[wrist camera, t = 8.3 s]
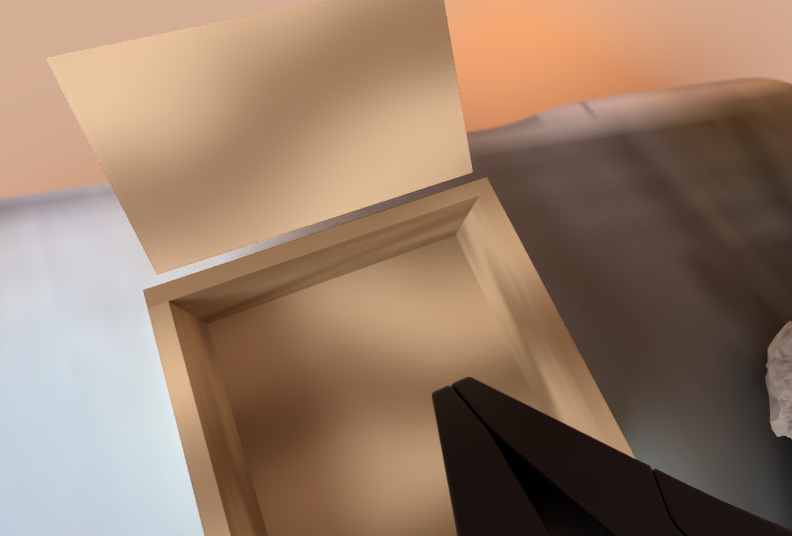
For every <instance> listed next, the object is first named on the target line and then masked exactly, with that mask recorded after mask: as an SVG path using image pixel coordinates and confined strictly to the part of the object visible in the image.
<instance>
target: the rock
mask: <svg viewBox="0 0 792 536" xmlns="http://www.w3.org/2000/svg"><path fill="white" fill-rule="evenodd" d="M767 350H768V361H767V364H766V368H767V369H768V371H767V374H766V377H765V380H766V385H767V390H768V394H769V402H770V423H771V427H772V430H773V431H774V433H775V434H776V435H777V437H780V436H787V437H790V438H791V439H792V322H791V321H789V322H788V323H786V325H785V326H784V327H783V328H782V329H781V330H780V332H779V333H778V334H777V335H776V337H775V338H774V339H773V341H772V342H771V343H770V345H769V347H768V349H767Z"/></svg>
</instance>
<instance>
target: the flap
mask: <svg viewBox="0 0 792 536" xmlns="http://www.w3.org/2000/svg"><path fill="white" fill-rule="evenodd" d="M46 60H47V62H48V64H49V65H50V68H51V70H52V72H53V73H54V75H55V77H56V79H57V81H58V83H59V85H60V87H61V89H62V91H63V93H64V95H65V97H66V99H67V101H68V103H69V105H70V106H71V108H72V110H73V112H74V114H75V116H76V118H77V120H78V122H79V124H80V126H81V128H82V130H83V132H84V134H85V136H86V138H87V140H88V141H89V143H90V145H91V147H92V149H93V151H94V153H95V155H96V157H97V159H98V161H99V163H100V165H101V167H102V169H103V171H104V172H105V174H106V176H107V178H108V180H109V182H110V184H111V186H112V188H113V190H114V192H115V194H116V196H117V198H118V200H119V202H120V204H121V206H122V208H123V210H124V211H125V213H126V215H127V217H128V219H129V221H130V223H131V225H132V227H133V229H134V231H135V233H136V235H137V237H138V239H139V241H140V243H141V244H142V246H143V248H144V250H145V252H146V254H147V256H148V258H149V260H150V262H151V264H152V266H153V268H154V270H155V272H156V274H157V275H158V274H161V273H164V272H167V271H170V270H173V269H176V268H179V267H183V266H186V265H189V264H192V263H195V262H198V261H201V260H204V259H207V258H210V257H213V256H216V255H220V254H223V253H226V252H229V251H232V250H235V249H238V248H241V247H244V246H247V245H250V244H253V243H256V242H260V241H263V240H266V239H269V238H272V237H275V236H278V235H281V234H284V233H287V232H290V231H293V230H297V229H300V228H303V227H306V226H309V225H312V224H315V223H318V222H321V221H324V220H327V219H330V218H334V217H337V216H340V215H343V214H346V213H349V212H352V211H355V210H358V209H361V208H364V207H367V206H371V205H374V204H377V203H380V202H383V201H386V200H389V199H392V198H395V197H398V196H401V195H404V194H408V193H411V192H414V191H417V190H420V189H423V188H426V187H429V186H432V185H435V184H438V183H441V182H445V181H448V180H451V179H454V178H457V177H460V176H463V175H466V174H469V173H472V172H473V171H472V165H471V159H470V153H469V147H468V141H467V135H466V129H465V123H464V118H463V111H462V106H461V99H460V93H459V88H458V82H457V76H456V70H455V64H454V58H453V52H452V47H451V41H450V35H449V28H448V23H447V16H446V10H445V4H444V0H324V1H319V2H314V3H309V4H305V5H299V6H294V7H290V8H285V9H280V10H275V11H270V12H265V13H260V14H256V15H251V16H246V17H241V18H236V19H231V20H226V21H222V22H217V23H212V24H207V25H202V26H197V27H193V28H188V29H183V30H178V31H173V32H168V33H163V34H159V35H154V36H149V37H144V38H139V39H134V40H130V41H125V42H120V43H115V44H110V45H105V46H101V47H95V48H91V49H86V50H81V51H76V52H71V53H66V54H62V55H57V56H52V57H47V58H46Z"/></svg>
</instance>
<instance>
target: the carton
mask: <svg viewBox="0 0 792 536" xmlns="http://www.w3.org/2000/svg"><path fill="white" fill-rule="evenodd" d="M143 292H144V296H145V300H146V303H147V307H148V311H149V315H150V319H151V323H152V327H153V331H154V335H155V339H156V343H157V347H158V351H159V355H160V359H161V363H162V367H163V371H164V375H165V379H166V383H167V387H168V391H169V395H170V399H171V403H172V407H173V411H174V415H175V419H176V423H177V427H178V431H179V435H180V439H181V443H182V447H183V451H184V455H185V459H186V463H187V467H188V471H189V475H190V479H191V483H192V487H193V491H194V495H195V499H196V503H197V507H198V511H199V515H200V519H201V523H202V527H203V531H204V535H205V536H457V532H456V526H455V521H454V516H453V510H452V505H451V499H450V494H449V488H448V483H447V477H446V472H445V466H444V461H443V455H442V450H441V445H440V439H439V434H438V428H437V423H436V417H435V412H434V406H433V401H432V392H434V391H436V390H438V389H440V388H442V387H445V386H447V385H449V386H451V385H452V383H454V382H456V381H458V380H460V379H463V378H465V377H472V378H474V379H476V380H478V381H480V382H482V383H484V384H486V385H488V386H490V387H492V388H494V389H496V390H498V391H500V392H502V393H504V394H506V395H508V396H510V397H512V398H514V399H516V400H518V401H520V402H522V403H524V404H526V405H528V406H530V407H532V408H534V409H536V410H538V411H540V412H542V413H544V414H547V415H549V416H551V417H553V418H555V419H557V420H559V421H561V422H563V423H565V424H567V425H569V426H571V427H573V428H575V429H577V430H579V431H581V432H583V433H585V434H587V435H589V436H591V437H593V438H595V439H597V440H599V441H601V442H603V443H605V444H607V445H609V446H611V447H613V448H615V449H617V450H619V451H621V452H623V453H625V454H627V455H629V456H631V457H633V458H635V457H634V455H633V453H632V451H631V449H630V447H629V445H628V443H627V441H626V439H625V438H624V436H623V434H622V432H621V430H620V428H619V426H618V424H617V422H616V421H615V419H614V417H613V415H612V413H611V411H610V409H609V407H608V405H607V404H606V402H605V400H604V398H603V396H602V394H601V392H600V390H599V388H598V387H597V385H596V383H595V381H594V379H593V377H592V375H591V373H590V371H589V370H588V368H587V366H586V364H585V362H584V360H583V358H582V356H581V354H580V353H579V351H578V349H577V347H576V345H575V343H574V341H573V339H572V337H571V335H570V334H569V332H568V330H567V328H566V326H565V324H564V322H563V320H562V318H561V317H560V315H559V313H558V311H557V309H556V307H555V305H554V303H553V301H552V300H551V298H550V296H549V294H548V292H547V290H546V288H545V286H544V284H543V283H542V281H541V279H540V277H539V275H538V273H537V271H536V269H535V267H534V266H533V264H532V262H531V260H530V258H529V256H528V254H527V252H526V250H525V248H524V247H523V245H522V243H521V241H520V239H519V237H518V235H517V233H516V231H515V230H514V228H513V226H512V224H511V222H510V220H509V218H508V216H507V214H506V213H505V211H504V209H503V207H502V205H501V203H500V201H499V199H498V197H497V196H496V194H495V192H494V190H493V188H492V186H491V184H490V182H489V180H488V179H487V177H485V178H482V179H479V180H476V181H473V182H470V183H467V184H464V185H461V186H458V187H455V188H451V189H448V190H445V191H442V192H439V193H436V194H433V195H430V196H427V197H424V198H421V199H418V200H415V201H412V202H409V203H406V204H403V205H400V206H397V207H394V208H391V209H388V210H385V211H382V212H379V213H376V214H373V215H370V216H367V217H364V218H361V219H357V220H354V221H351V222H348V223H345V224H342V225H339V226H336V227H333V228H330V229H327V230H324V231H321V232H318V233H315V234H312V235H309V236H306V237H303V238H300V239H297V240H294V241H291V242H288V243H285V244H282V245H279V246H276V247H273V248H270V249H267V250H263V251H260V252H257V253H254V254H251V255H248V256H245V257H242V258H239V259H236V260H233V261H230V262H227V263H224V264H221V265H218V266H215V267H212V268H209V269H206V270H203V271H200V272H197V273H194V274H191V275H188V276H185V277H182V278H179V279H176V280H172V281H169V282H166V283H163V284H160V285H157V286H154V287H151V288H148V289H145V290H143ZM635 459H636V458H635Z"/></svg>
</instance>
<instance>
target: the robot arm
mask: <svg viewBox="0 0 792 536" xmlns="http://www.w3.org/2000/svg"><path fill="white" fill-rule="evenodd" d="M432 401H433V406H434V412H435V417H436V423H437V428H438V434H439V439H440V445H441V450H442V455H443V461H444V466H445V472H446V477H447V483H448V488H449V494H450V499H451V505H452V510H453V516H454V521H455V526H456V532H457V536H792V530H789V529H787V528H784V527H782V526H780V525H777V524H775V523H772V522H770V521H767V520H765V519H763V518H760V517H758V516H756V515H754V514H751V513H749V512H747V511H744V510H742V509H740V508H737V507H735V506H733V505H730V504H728V503H726V502H723V501H721V500H719V499H717V498H715V497H713V496H710V495H708V494H706V493H704V492H702V491H700V490H698V489H696V488H694V487H692V486H689V485H687V484H685V483H683V482H681V481H679V480H677V479H675V478H673V477H671V476H669V475H667V474H665V473H663V472H661V471H659V470H657V469H653V470H652V469H651V467H650V466H649V465H647V464H645V463H643V462H641V461H639V460H637V459H635V458H633V457H631V456H629V455H627V454H625V453H623V452H621V451H619V450H617V449H615V448H613V447H611V446H609V445H607V444H605V443H603V442H601V441H599V440H597V439H595V438H593V437H591V436H589V435H587V434H585V433H583V432H581V431H579V430H577V429H575V428H573V427H571V426H569V425H567V424H565V423H563V422H561V421H559V420H557V419H555V418H553V417H551V416H549V415H547V414H544V413H542V412H540V411H538V410H536V409H534V408H532V407H530V406H528V405H526V404H524V403H522V402H520V401H518V400H516V399H514V398H512V397H510V396H508V395H506V394H504V393H502V392H500V391H498V390H496V389H494V388H492V387H490V386H488V385H486V384H484V383H482V382H480V381H478V380H476V379H474V378H472V377H465V378H463V379H460V380H458V381H456V382H454V383H452V385H451V386H449V385H447V386H445V387H442V388H440V389H438V390H436V391H434V392H432Z"/></svg>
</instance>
